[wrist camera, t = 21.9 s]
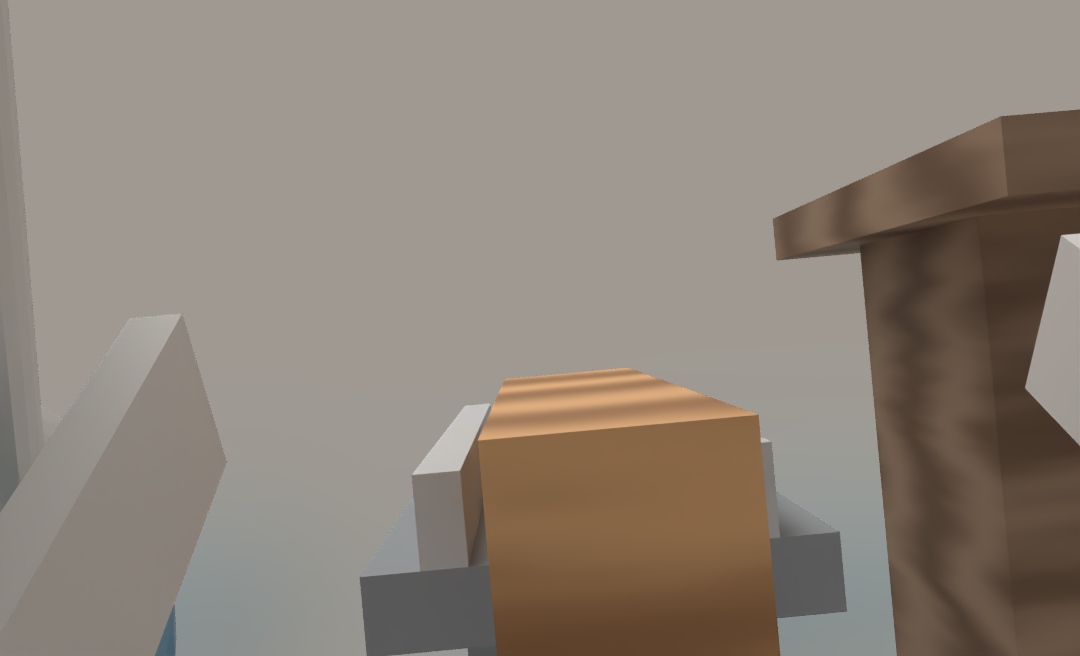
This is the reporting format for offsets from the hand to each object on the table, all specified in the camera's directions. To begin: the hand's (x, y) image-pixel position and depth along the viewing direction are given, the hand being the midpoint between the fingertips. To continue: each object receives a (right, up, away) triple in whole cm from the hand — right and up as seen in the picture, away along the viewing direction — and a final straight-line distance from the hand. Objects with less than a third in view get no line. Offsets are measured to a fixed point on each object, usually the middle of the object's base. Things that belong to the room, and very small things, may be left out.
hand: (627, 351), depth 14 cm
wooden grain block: (0, -5, +10) cm, 12 cm away
